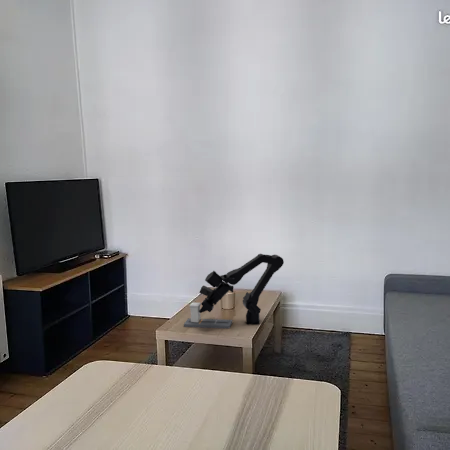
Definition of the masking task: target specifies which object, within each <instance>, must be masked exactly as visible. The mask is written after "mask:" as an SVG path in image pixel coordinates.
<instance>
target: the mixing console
mask: <svg viewBox="0 0 450 450" xmlns="http://www.w3.org/2000/svg"><path fill="white" fill-rule="evenodd" d="M232 324H233V319H222V318H219V319H218V318H201V319H200V321H199V322H191V317H189V318H187V319H186V320H185V322H184V324H183V328H203V329H204V328H205V329H231V326H232Z"/></svg>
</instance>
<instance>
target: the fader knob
mask: <svg viewBox="0 0 450 450" xmlns="http://www.w3.org/2000/svg"><path fill="white" fill-rule="evenodd" d="M201 303H202V302H191V304H189V310H190V318H191V322H199V321H200V319H202V318H201V317H202V316H201V313H200V312H199V311H200V309H201V306H202V305H201Z"/></svg>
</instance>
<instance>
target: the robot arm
mask: <svg viewBox="0 0 450 450" xmlns="http://www.w3.org/2000/svg"><path fill="white" fill-rule="evenodd" d="M284 262H285V261H284V258H283V257H282V256H280V255H278V254H271V255H270V254H263V253H258V254H257V255H256V256H254V257H253V258H252V259H251V260H249V261H247V262H246V263H244V264H243V265H241V266H240V267H238V268H235V269H232V270H230V271H227V273H225V274H221V275H220V274H218V273H217V272H216V271H215V270H213V271H212V272H210V273H209V274H207V276H206V277H205V279H204V281H205V282H206V283H207V284H209V285H210V286H211V287H212V288H213V289H211V288H210V287H208V286H206V285H202V286H201V287H200V290H199V294H201V295H204V296H205V298H204V299H203V300H202V302H200V303H201V305H200V306H201V307H200V311H199V312H200V314H202V313H204V312H208V313H211V312H212V311H213V309H214V306H216V305H217V304H218V303H219V301H221V300H222V299H223V297H225V296H226V294H228V293H229V291H230V293H231V294H232V293H234V286H235V285H237V284H238V283H240V281H242V278H244V277H245V275H246V274H248V273H249V272H251V271H253V269H255V268H257V267H258V266H260V265H261V264H262V263H263V264H267V265H266V269H265V270H264V272H263V273H262V275H261V277H260V278H259V280H258V281H257V283H256V284H255V286H254V287H253V289H252V290H251V291H250V292H248V291H246V293H245V295H244V296H243V297H242V305H243V306H244V307H245V308H246V310H247V311H246V313H245V322H246V325H260V322H261V319H260V316H261V315H260V313H261V310H262V309H261V308H260V306H259V305H258V303H259V300H260V296H261V294H262V293H263V291H264V289H265V288H266V287H267V284H268V283H269V282H270V280H271V279H272V277H273V275H274V274H275V273H276V272H278V271H279V270H280V269H281V268H282V267H283V266H284Z"/></svg>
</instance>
